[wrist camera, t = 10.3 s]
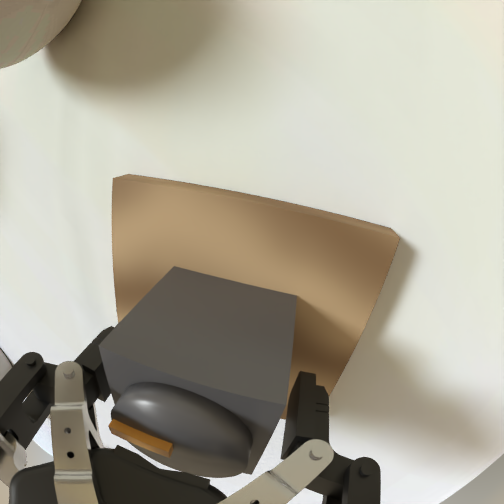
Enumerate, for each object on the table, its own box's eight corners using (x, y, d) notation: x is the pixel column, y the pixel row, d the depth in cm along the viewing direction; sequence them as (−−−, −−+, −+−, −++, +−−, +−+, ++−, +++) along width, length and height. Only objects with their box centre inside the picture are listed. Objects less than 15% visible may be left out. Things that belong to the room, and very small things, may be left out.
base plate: (312, 408, 18) (312, 423, 17) (135, 359, 20) (126, 372, 18) (390, 228, 13) (400, 238, 11) (128, 174, 14) (112, 178, 13)
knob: (297, 295, 13) (281, 443, 6) (270, 380, 16) (245, 498, 8) (173, 266, 14) (75, 371, 7) (172, 353, 16) (113, 454, 9)
